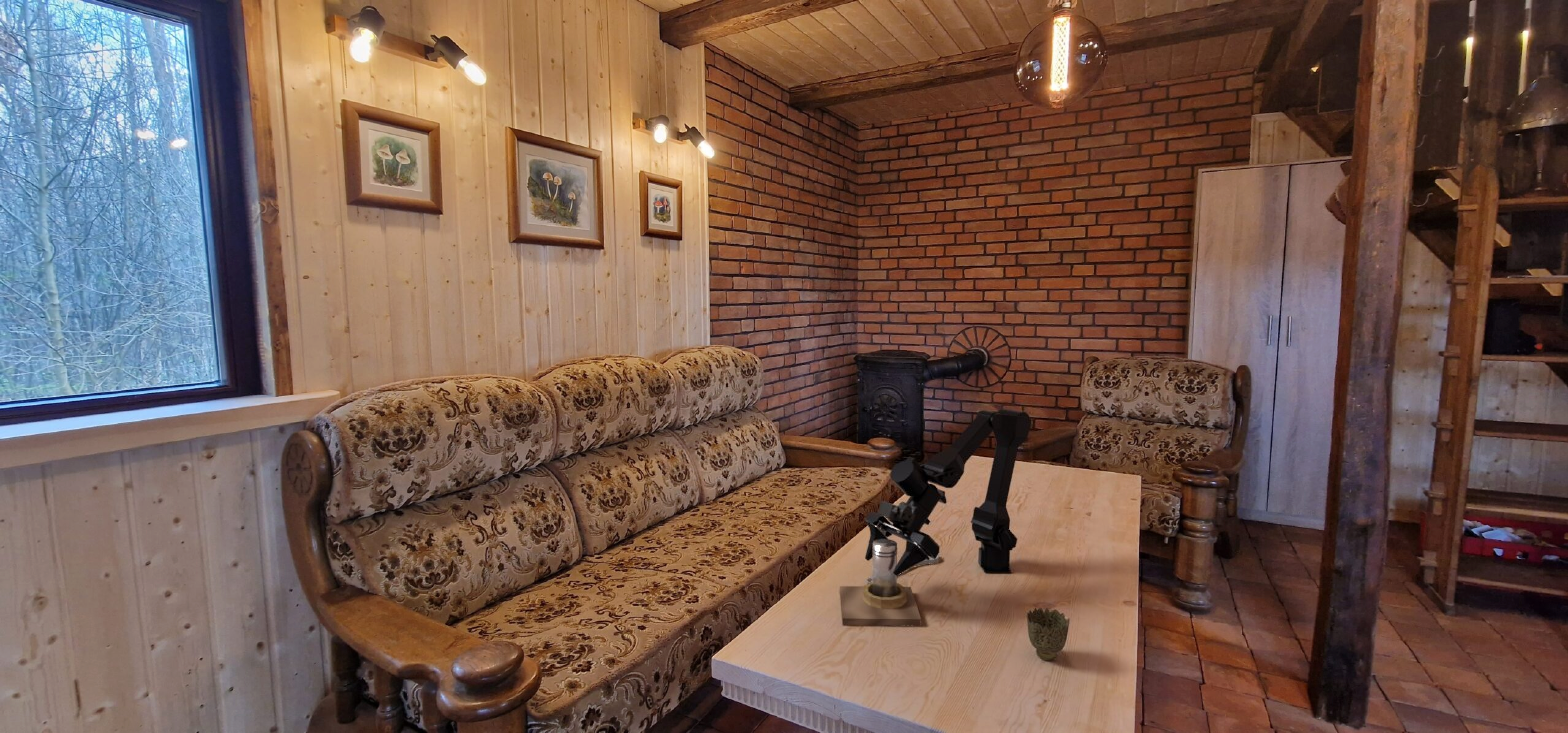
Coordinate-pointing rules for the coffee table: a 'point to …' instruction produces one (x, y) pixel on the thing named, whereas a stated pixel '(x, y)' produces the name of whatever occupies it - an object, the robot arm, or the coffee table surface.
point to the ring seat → (878, 607)
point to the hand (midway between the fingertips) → (880, 566)
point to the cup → (1047, 632)
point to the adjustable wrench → (913, 566)
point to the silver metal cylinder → (884, 568)
